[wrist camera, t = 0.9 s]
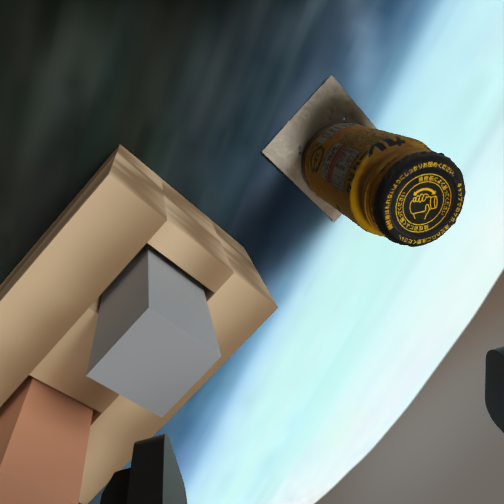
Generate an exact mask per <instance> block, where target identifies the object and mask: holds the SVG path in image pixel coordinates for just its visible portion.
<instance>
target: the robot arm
mask: <svg viewBox="0 0 504 504" xmlns="http://www.w3.org/2000/svg"><path fill="white" fill-rule="evenodd" d="M485 381H486V382H485V402H486V407H487V410H488V412H489V414H490V416H491V418H492V420H493V421H494V422H495V424H496V425H497V426H498V427H499V428H500V429H501V430H502V431H503V433H504V347H500V348H496V349H493V350H490V351H488V353H487V355H486V380H485ZM100 504H187V498H186V492H185V487H184V482H183V479H182V476H181V473H180V470H179V466H178V463H177V460H176V457H175V454H174V451H173V448H172V445H171V442H170V439H169V436H168V435H167V434H163V435H159V436H156V437H152V438H148V439H144V440H140V441H136V442H135V443H134V446H133V454H132V462H131V468H128V469H124V470H121V471H117V472H114V474H113V476H112V478H111V479H110V481H109V483H108V485H107V486H106V488H105V490H104V491H103V493H102V496H101V502H100Z"/></svg>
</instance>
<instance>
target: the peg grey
mask: <svg viewBox="0 0 504 504" xmlns="http://www.w3.org/2000/svg"><path fill="white" fill-rule="evenodd" d="M220 357H221V353H220V349H219V345H218V342H217V338H216V334H215V330H214V327H213V323H212V319H211V315H210V312H209V308H208V304H207V300H206V297H205V293H204V289H203V285H202V283H200V282H199V281H198V280H196V279H195V278H194V277H192V276H191V275H190V274H188V273H187V272H186V271H184V270H183V269H182V268H180V267H179V266H178V265H176V264H175V263H174V262H172V261H171V260H170V259H168V258H167V257H166V256H164V255H163V254H162V253H160V252H159V251H158V250H156V249H155V248H154V247H152V246H151V245H149V244H148V243H146V244H145V246H144V247H143V248H142V249H141V250H140V251H139V252H138V253H137V254H136V256H135V257H134V258H133V259H132V260H131V261H130V262H129V263H128V265H127V266H126V267H125V268H124V269H123V270H122V271H121V272H120V274H119V275H118V276H117V277H116V278H115V279H114V280H113V281H112V282H111V284H110V285H109V286H108V287H107V288H106V289H105V290H104V291H103V293H102V298H101V303H100V308H99V313H98V318H97V323H96V328H95V333H94V338H93V343H92V349H91V354H90V359H89V364H88V369H87V374H86V376H87V377H89V378H91V379H93V380H95V381H96V382H98V383H100V384H102V385H104V386H105V387H107V388H109V389H111V390H113V391H114V392H116V393H118V394H120V395H122V396H123V397H125V398H127V399H129V400H131V401H132V402H134V403H136V404H138V405H140V406H141V407H143V408H145V409H147V410H149V411H150V412H152V413H154V414H156V415H158V416H159V417H161V418H162V417H163V416H164V415H165V414H166V413H167V412H168V411H169V410H170V409H171V408H172V407H173V406H174V405H175V404H176V403H177V402H178V401H179V400H180V399H181V398H182V397H183V396H184V395H185V393H186V392H187V391H188V390H189V389H190V388H191V387H192V386H193V385H194V384H195V383H196V382H197V381H198V380H199V379H200V378H201V377H202V376H203V375H204V374H205V373H206V372H207V371H208V370H209V369H210V368H211V367H212V366H213V365H214V363H215V362H216V361H217V360H218V359H219V358H220Z"/></svg>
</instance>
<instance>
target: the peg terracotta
mask: <svg viewBox="0 0 504 504" xmlns="http://www.w3.org/2000/svg"><path fill="white" fill-rule="evenodd" d="M92 414H93V408H91V407H89V406H87V405H85V404H84V403H82V402H80V401H78V400H76V399H74V398H72V397H70V396H68V395H66V394H64V393H63V392H61V391H59V390H57V389H55V388H53V387H51V386H49V385H47V384H45V383H44V382H42V381H40V380H38V379H36V378H34V377H32V376H30V375H28V377H27V378H26V379H25V380H24V381H23V382H22V383H21V384H20V385H19V387H18V388H17V389H16V390H15V391H14V392H13V393H12V394H11V396H10V397H9V398H8V399H7V400H6V401H5V402H4V403H3V405H2V406H1V407H0V504H78V503H79V496H80V490H81V483H82V477H83V471H84V464H85V458H86V452H87V445H88V439H89V433H90V426H91V420H92Z"/></svg>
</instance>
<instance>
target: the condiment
mask: <svg viewBox="0 0 504 504" xmlns="http://www.w3.org/2000/svg"><path fill="white" fill-rule="evenodd" d="M343 118H346V119H345V120H343ZM299 145H300V146H301V149H300V150H299V149H298V146H299ZM300 151H301V152H302V153H301V155H299V152H300ZM262 153H263V154H265V155H266V156H267V157H268V158H269V159H270V160H271V161H272V162H273V163H274V164H275V165H276V166H277V167H278V168H279V169H280V170H281V171H282V172H283V173H284V174H285V175H286V176H287V177H288V178H289V179H290V180H291V181H292V182H294V183H295V184H296V185H297V186H298V187H299V188H300V189H301V190H302V191H303V192H304V193H305V194H306V195H307V196H308V197H309V198H310V199H311V200H312V201H313V202H314V203H315V204H316V205H317V206H318V207H319V208H320V209H321V210H322V211H323V212H325V213H326V214H327V215H328V216H329V217H330V218H331V219H332V220H333V221H334V222H335V221H336V220H337V218H338V217H339V216H340V215H341V214H343V215H345V216H346V217H348V218H349V219H350V220H352V221H353V222H355V223H356V224H357V225H358V226H360V227H361V228H362V229H364V230H365V231H367V232H370V233H373V234H376V235H379V236H384V237H386V238H388V239H389V240H391V241H392V242H395V243H399V244H400V245H408V246H411V247H416V246H421V245H425V244H427V243H430V242H432V241H434V240H436V239H438V238H439V237H440V236H442V235H443V234H444V233H445V232H446V231H447V230H448V229H449V228H450V227H451V226H452V225H453V224H455V222H456V218H457V217H458V215H459V214H460V212H461V209H462V206H463V202H464V196H465V185H464V180H463V175H462V172H461V170H460V169H459V168H458V167H457V166H456V165H455V163H454V162H452V161H451V159H450V158H448V157H446V156H444V154H443V153H436V152H434V151H432V150H430V149H429V148H428V147H427V146H426V145H425V144H424V143H423V142H420V141H418V140H416V139H413V138H409V137H405V136H401V135H398V134H393V133H389V132H386V131H382V130H378V129H376V127H375V126H374V125H373V124H372V123H371V122H370V120H369V119H368V118H367V116H366V115H365V114H364V113H363V111H362V110H361V109H360V108H359V107H358V106H357V105H356V103H355V102H354V101H353V100H352V99H351V98H350V96H349V95H348V94H347V93H346V92H345V90H344V89H343V88H342V87H341V85H340V84H339V83H338V82H337V81H336V80H335V78H334V77H333V76H332V75H331V76H330V77H329V78H328V79H327V80H326V81H325V83H324V84H323V85H322V86H321V87H320V88H319V89H318V90H317V91H316V92H315V93H314V94H313V95H312V96H311V98H310V99H309V100H308V101H307V102H306V103H305V104H304V105H303V106H302V107H301V108H300V110H299V111H298V112H297V113H296V114H295V115H294V116H293V117H292V118H291V119H290V121H288V123H287V124H286V125H285V126H284V128H283V129H282V130H281V131H280V132H279V133H278V134H277V135H276V136H275V137H274V139H273V140H272V141H271V142H270V143H269V144H268V146H267V147H266V148H265V149H264V150H263V151H262Z"/></svg>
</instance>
